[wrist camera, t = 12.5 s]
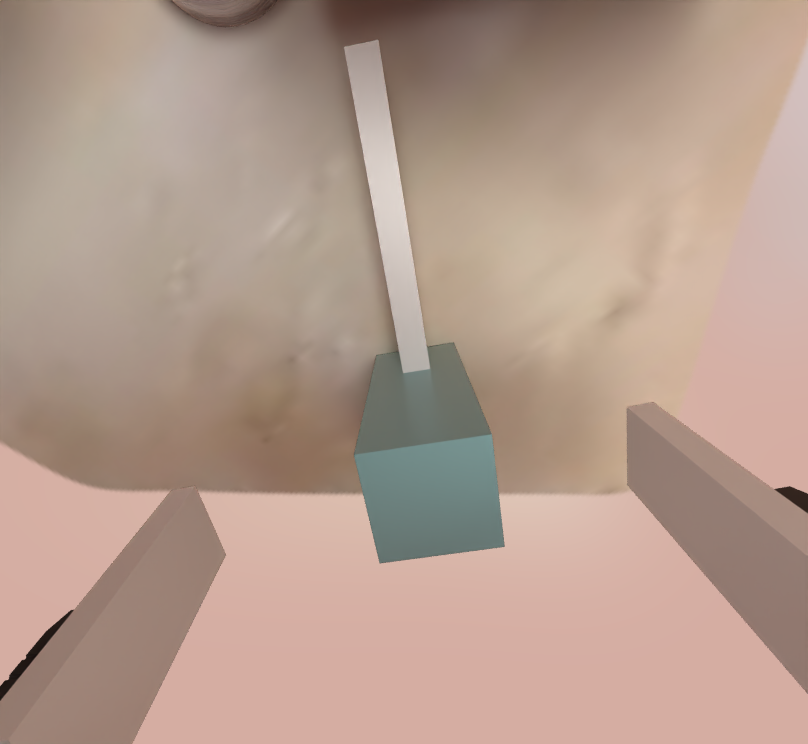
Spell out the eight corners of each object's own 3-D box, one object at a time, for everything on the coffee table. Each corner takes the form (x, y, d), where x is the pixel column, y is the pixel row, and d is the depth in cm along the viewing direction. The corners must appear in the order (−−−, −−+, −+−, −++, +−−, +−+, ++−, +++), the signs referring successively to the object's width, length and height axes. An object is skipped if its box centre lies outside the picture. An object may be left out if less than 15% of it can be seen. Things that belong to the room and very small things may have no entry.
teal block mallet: (390, 424, 23) (379, 563, 13) (322, 87, 18) (228, -74, 8) (463, 413, 23) (504, 546, 13) (416, 68, 17) (429, -120, 8)
